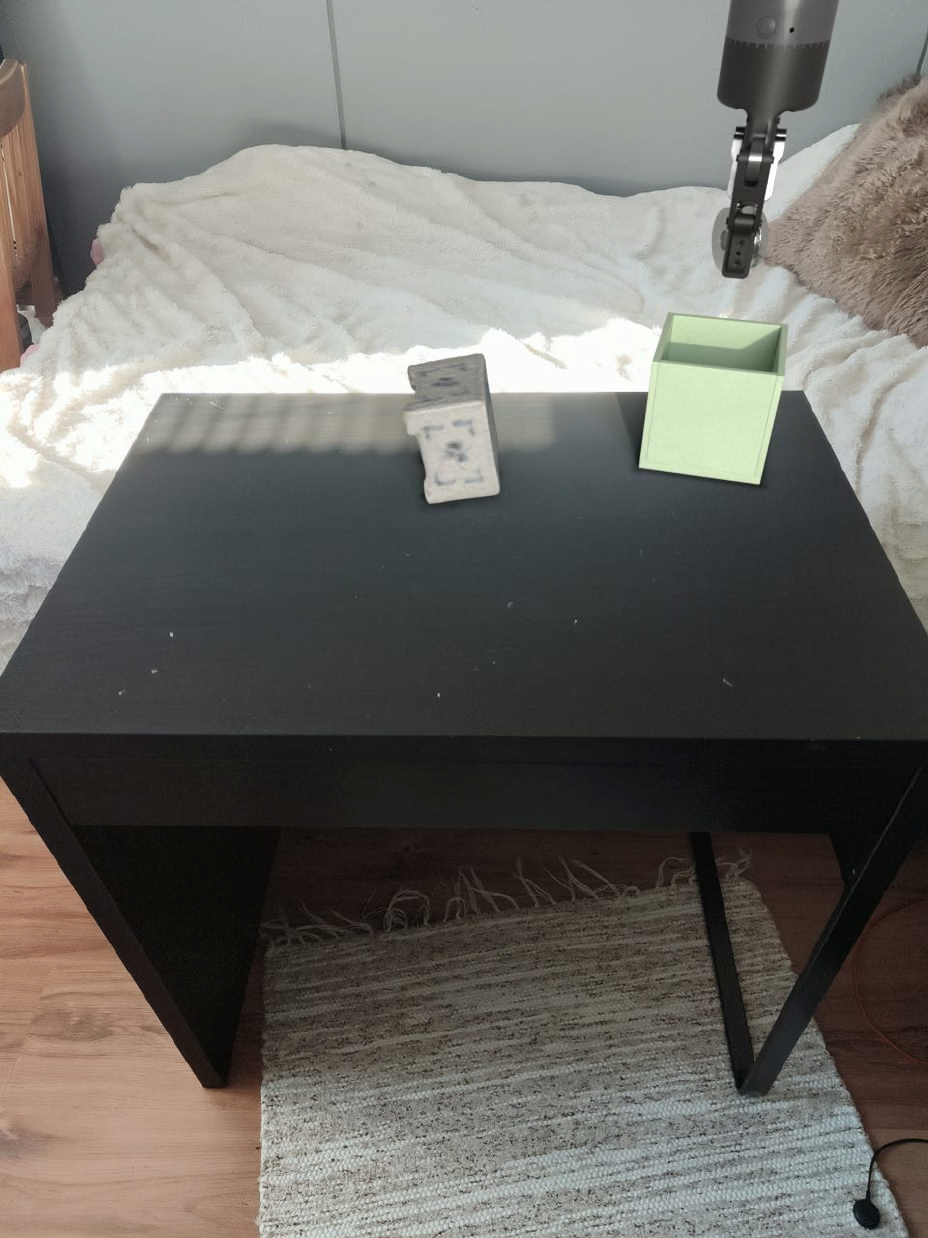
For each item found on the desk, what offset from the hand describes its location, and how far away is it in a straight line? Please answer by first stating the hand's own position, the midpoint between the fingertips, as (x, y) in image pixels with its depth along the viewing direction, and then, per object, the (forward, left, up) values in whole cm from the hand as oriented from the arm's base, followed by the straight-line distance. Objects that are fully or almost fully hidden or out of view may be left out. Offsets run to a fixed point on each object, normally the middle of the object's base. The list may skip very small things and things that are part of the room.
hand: (737, 262), depth 77 cm
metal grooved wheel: (0, 0, -1) cm, 1 cm away
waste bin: (0, 0, -18) cm, 18 cm away
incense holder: (+22, +12, -18) cm, 31 cm away
